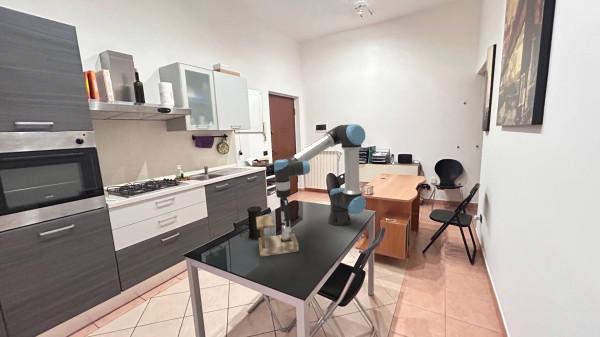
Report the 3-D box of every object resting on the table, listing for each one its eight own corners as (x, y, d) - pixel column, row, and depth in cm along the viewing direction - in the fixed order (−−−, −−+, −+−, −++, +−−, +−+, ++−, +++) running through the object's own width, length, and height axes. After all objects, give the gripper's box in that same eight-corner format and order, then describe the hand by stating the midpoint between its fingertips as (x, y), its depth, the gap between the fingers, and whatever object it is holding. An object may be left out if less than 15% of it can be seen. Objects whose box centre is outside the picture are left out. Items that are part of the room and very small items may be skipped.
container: (266, 234, 151) (264, 206, 149) (260, 240, 143) (258, 211, 140) (253, 233, 154) (250, 205, 151) (246, 239, 145) (243, 210, 143)
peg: (289, 244, 136) (288, 224, 135) (290, 247, 133) (289, 226, 131) (282, 245, 136) (280, 224, 134) (283, 248, 132) (281, 227, 130)
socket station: (293, 239, 142) (292, 212, 140) (298, 251, 128) (297, 222, 125) (258, 244, 138) (256, 216, 136) (259, 257, 124) (257, 227, 121)
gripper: (273, 184, 140) (276, 219, 144) (279, 196, 116) (282, 237, 120) (286, 183, 142) (289, 218, 145) (294, 194, 118) (297, 235, 121)
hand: (286, 227), depth 133 cm, fingers open, 13 cm apart
